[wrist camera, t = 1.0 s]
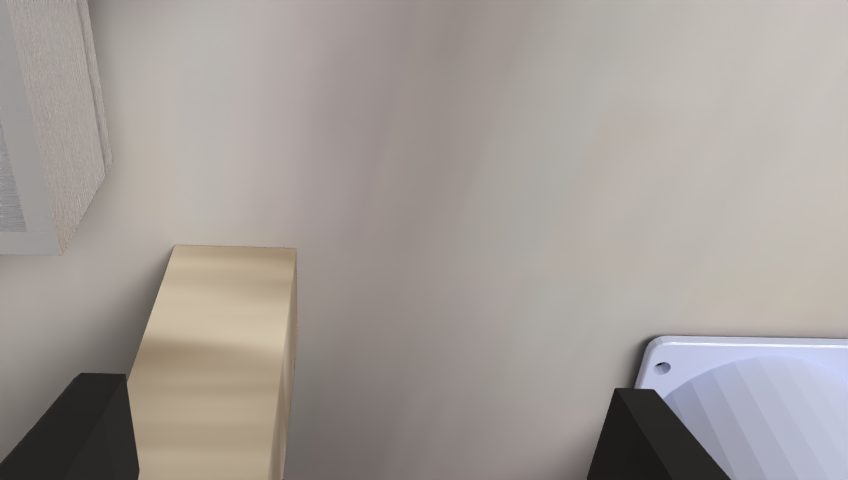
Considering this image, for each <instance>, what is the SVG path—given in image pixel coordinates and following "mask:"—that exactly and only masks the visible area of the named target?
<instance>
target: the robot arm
mask: <svg viewBox="0 0 848 480" xmlns="http://www.w3.org/2000/svg"><path fill="white" fill-rule="evenodd" d="M662 362H665V363H664V364H662V365H660V366H655V365H657V364H658V363H662ZM139 472H140V468H139V462H138V455H137V448H136V442H135V435H134V428H133V422H132V415H131V408H130V402H129V395H128V388H127V382H126V375H125V374H102V373H81V374H79V375H78V376H77V377H76V378H74V379H73V381H72V382H71V383H70V384H69V385H68V387H67V388H66V389H65V390H64V391H63V392H62V394H61V395H60V396H59V397H58V398H57V400H56V401H55V402H54V403H53V404H52V406H51V407H50V408H49V409H48V410H47V411H46V413H45V414H44V415H43V416H42V417H41V418H40V420H39V421H38V422H37V423H36V424H35V425H34V427H33V428H32V429H31V430H30V431H29V432H28V433H27V435H26V436H25V437H24V438H23V439H22V440H21V441H20V442H19V444H18V445H17V446H16V447H15V448H14V449H13V450H12V451H11V453H10V454H9V455H8V456H7V457H6V458H5V459H4V460H3V461H2V462H1V463H0V480H138V477H139ZM587 480H848V339H816V338H762V337H707V336H661V337H658V338H655V339H654V340H652V341H651V342H650V343H649V344H648V346H647V348H646V351H645V354H644V357H643V361H642V364H641V367H640V370H639V374H638V377H637V380H636V384H635V387H634V388H615V390H614V393H613V396H612V399H611V403H610V406H609V409H608V412H607V415H606V419H605V422H604V425H603V428H602V431H601V434H600V438H599V441H598V444H597V447H596V450H595V454H594V457H593V460H592V463H591V466H590V470H589V473H588V476H587Z"/></svg>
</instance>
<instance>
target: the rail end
mask: <svg viewBox="0 0 848 480" xmlns="http://www.w3.org/2000/svg"><path fill="white" fill-rule="evenodd" d="M297 340H298V330H297V268H296V248H266V247H229V246H192V245H175V246H174V249H173V252H172V255H171V258H170V260H169V263H168V266H167V269H166V272H165V275H164V278H163V281H162V284H161V286H160V289H159V292H158V295H157V298H156V301H155V304H154V307H153V309H152V312H151V315H150V318H149V321H148V324H147V327H146V330H145V333H144V335H143V338H142V341H141V344H140V347H139V350H138V353H137V356H136V359H135V361H134V364H133V367H132V370H131V373H130V376H129V379H128V382H127V388H128V395H129V402H130V408H131V415H132V422H133V428H134V435H135V442H136V448H137V455H138V462H139V468H140V472H139V477H138V480H283V473H284V464H285V454H286V445H287V435H288V426H289V416H290V406H291V397H292V387H293V378H294V368H295V359H296V349H297Z"/></svg>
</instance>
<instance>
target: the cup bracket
mask: <svg viewBox="0 0 848 480" xmlns="http://www.w3.org/2000/svg"><path fill="white" fill-rule="evenodd" d="M112 162H113V160H112V154H111V147H110V141H109V135H108V129H107V122H106V116H105V110H104V104H103V97H102V91H101V85H100V78H99V72H98V66H97V60H96V53H95V47H94V41H93V34H92V28H91V22H90V16H89V9H88V3H87V0H0V254H10V255H48V256H61V255H62V254H63V252H64V250H65V248H66V246H67V244H68V243H69V241H70V239H71V237H72V235H73V233H74V232H75V230H76V228H77V226H78V224H79V222H80V221H81V219H82V217H83V215H84V213H85V211H86V210H87V208H88V206H89V204H90V202H91V200H92V199H93V197H94V195H95V193H96V191H97V189H98V188H99V186H100V184H101V182H102V180H103V178H104V177H105V175H106V173H107V171H108V169H109V167H110V166H111V164H112Z"/></svg>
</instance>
